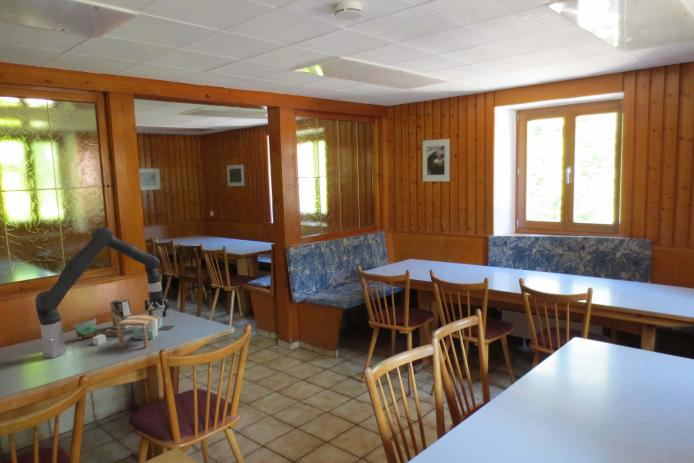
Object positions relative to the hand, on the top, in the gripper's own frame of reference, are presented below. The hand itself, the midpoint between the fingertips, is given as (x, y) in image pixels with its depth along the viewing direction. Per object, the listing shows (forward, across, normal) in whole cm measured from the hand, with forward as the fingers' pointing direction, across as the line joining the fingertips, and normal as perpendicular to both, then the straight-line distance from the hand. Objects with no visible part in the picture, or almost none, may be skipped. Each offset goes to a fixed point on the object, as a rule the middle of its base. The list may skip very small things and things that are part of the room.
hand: (157, 316), depth 292 cm
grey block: (+6, -18, -28) cm, 34 cm away
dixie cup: (+6, +6, -16) cm, 18 cm away
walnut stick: (+6, -18, -15) cm, 25 cm away
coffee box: (+6, -24, -1) cm, 24 cm away
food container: (+6, -31, -20) cm, 38 cm away
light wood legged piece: (+6, +7, -27) cm, 29 cm away
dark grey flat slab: (+6, +6, -3) cm, 9 cm away
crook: (+6, +4, -10) cm, 12 cm away
